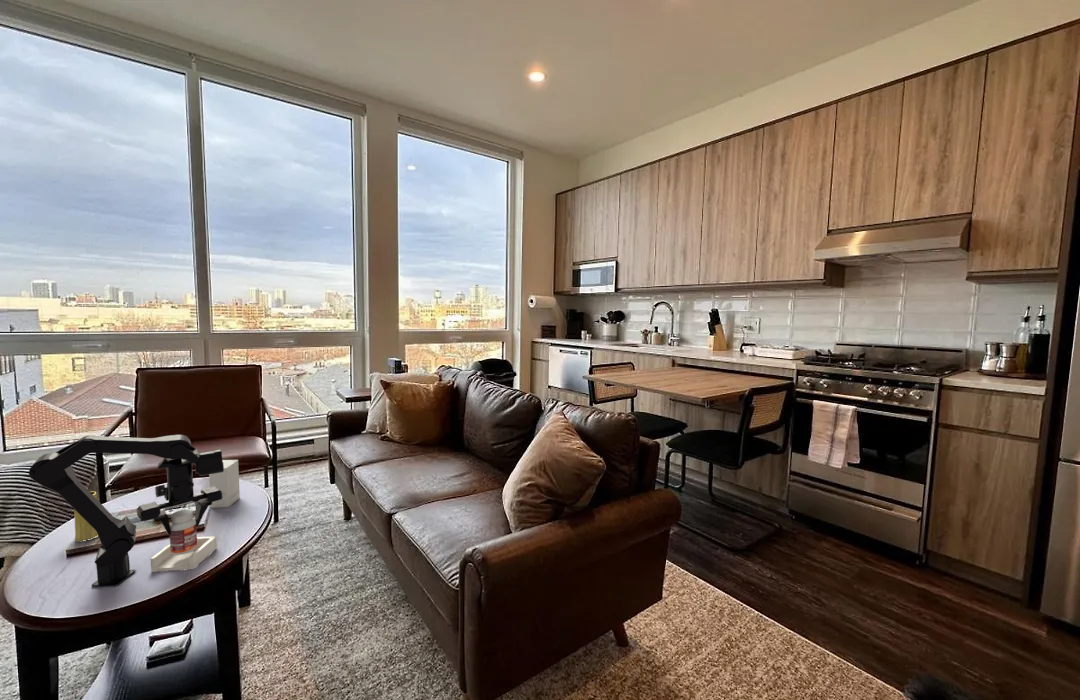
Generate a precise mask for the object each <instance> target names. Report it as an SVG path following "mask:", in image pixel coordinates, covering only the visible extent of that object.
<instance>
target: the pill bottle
mask: <svg viewBox="0 0 1080 700" xmlns="http://www.w3.org/2000/svg"><path fill="white" fill-rule="evenodd" d="M170 522H171V523H169V524H170V531H171V532H170V535H169V542H170V543H169V544H170V549H171V553H172V554H174V555H181V554H186V553H188V552H191V551H193V550H194V549H195V548H196V547H197V537H198V535H197V532H198V531H197V527H196V520H195V514H194V510H193V509H190V508H189V509H188V508H187V509H180V510H177V511H174V512H173V513H171V515H170Z"/></svg>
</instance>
